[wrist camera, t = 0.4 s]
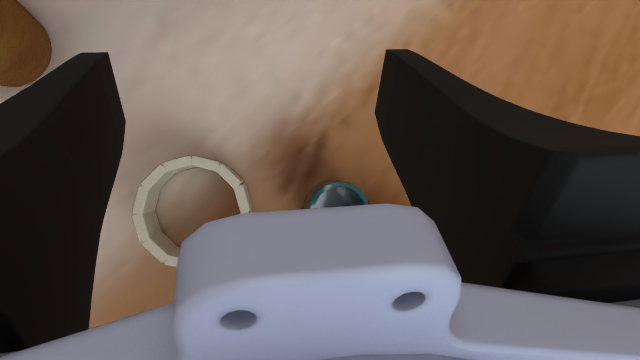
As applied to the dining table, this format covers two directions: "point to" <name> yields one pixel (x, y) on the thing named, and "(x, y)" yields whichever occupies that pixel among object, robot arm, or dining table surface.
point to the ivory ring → (148, 199)
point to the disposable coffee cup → (21, 45)
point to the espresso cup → (334, 195)
